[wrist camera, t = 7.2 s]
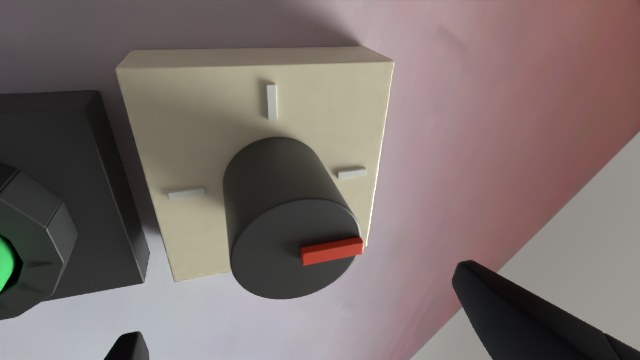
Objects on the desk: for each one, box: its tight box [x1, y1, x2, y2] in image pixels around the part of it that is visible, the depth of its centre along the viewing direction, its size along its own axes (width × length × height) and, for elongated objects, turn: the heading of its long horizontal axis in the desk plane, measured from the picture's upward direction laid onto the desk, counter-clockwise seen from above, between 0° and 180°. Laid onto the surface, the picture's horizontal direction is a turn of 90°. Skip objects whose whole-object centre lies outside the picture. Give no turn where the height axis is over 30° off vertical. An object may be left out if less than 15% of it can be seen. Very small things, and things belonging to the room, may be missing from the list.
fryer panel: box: [115, 46, 394, 282], centre depth 16 cm, size 10×10×3 cm
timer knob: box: [223, 137, 364, 299], centre depth 13 cm, size 4×4×5 cm
